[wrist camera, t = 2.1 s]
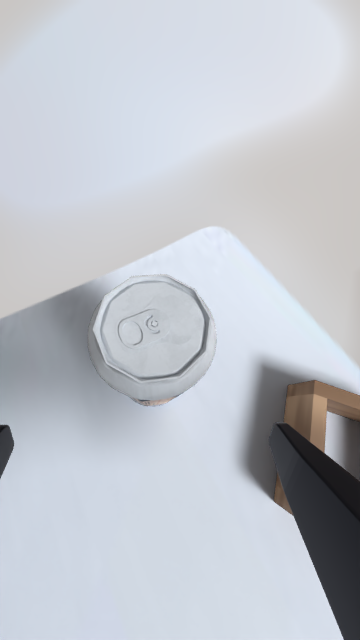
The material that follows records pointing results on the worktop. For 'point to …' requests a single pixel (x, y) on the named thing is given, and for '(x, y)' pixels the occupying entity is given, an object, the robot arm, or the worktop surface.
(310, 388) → the socket block
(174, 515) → the worktop surface
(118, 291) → the beer can
